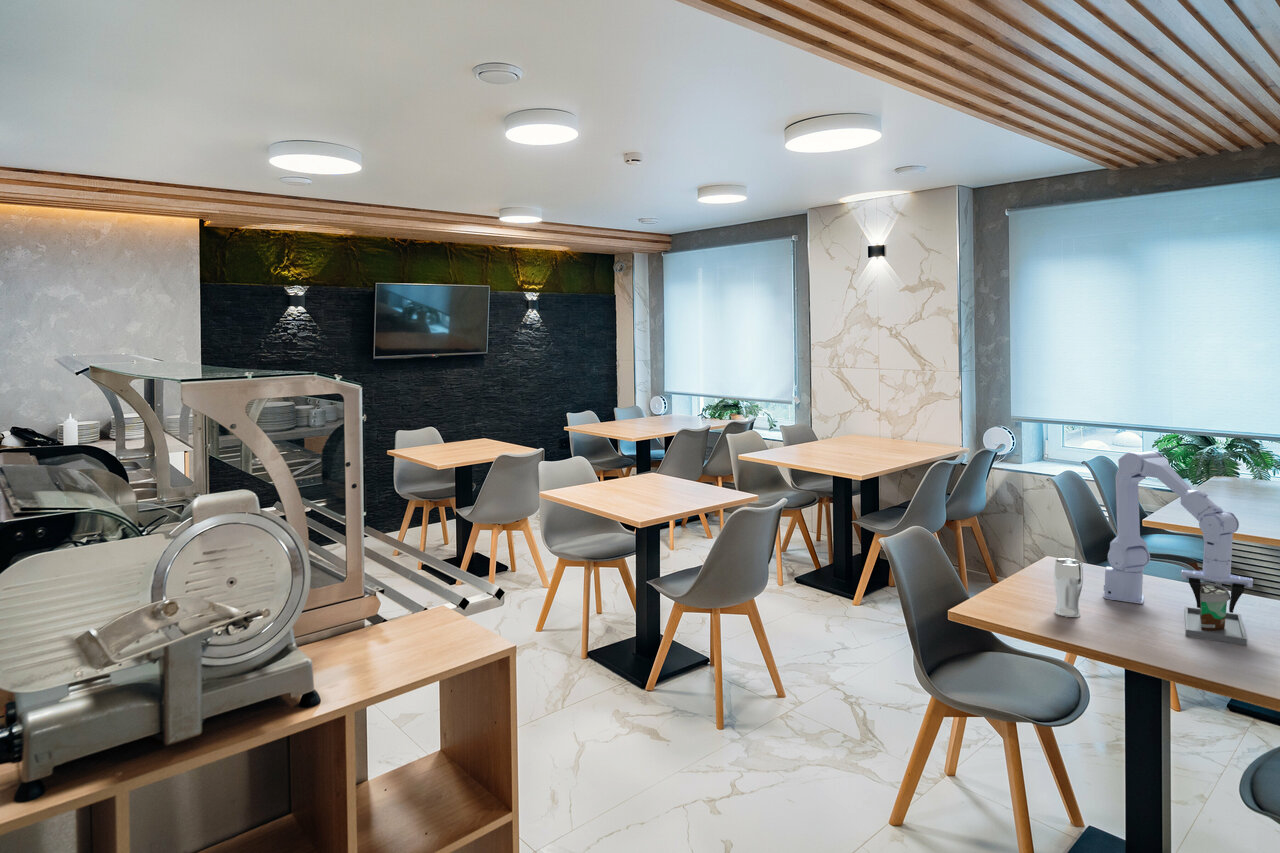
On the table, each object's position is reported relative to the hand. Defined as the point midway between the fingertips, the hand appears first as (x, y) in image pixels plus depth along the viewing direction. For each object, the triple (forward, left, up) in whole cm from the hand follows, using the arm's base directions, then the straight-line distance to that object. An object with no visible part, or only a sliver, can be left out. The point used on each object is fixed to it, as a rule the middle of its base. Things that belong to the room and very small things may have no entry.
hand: (1214, 609), depth 191 cm
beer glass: (-33, -8, -5) cm, 34 cm away
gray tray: (0, 0, -5) cm, 5 cm away
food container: (0, 0, -5) cm, 5 cm away
